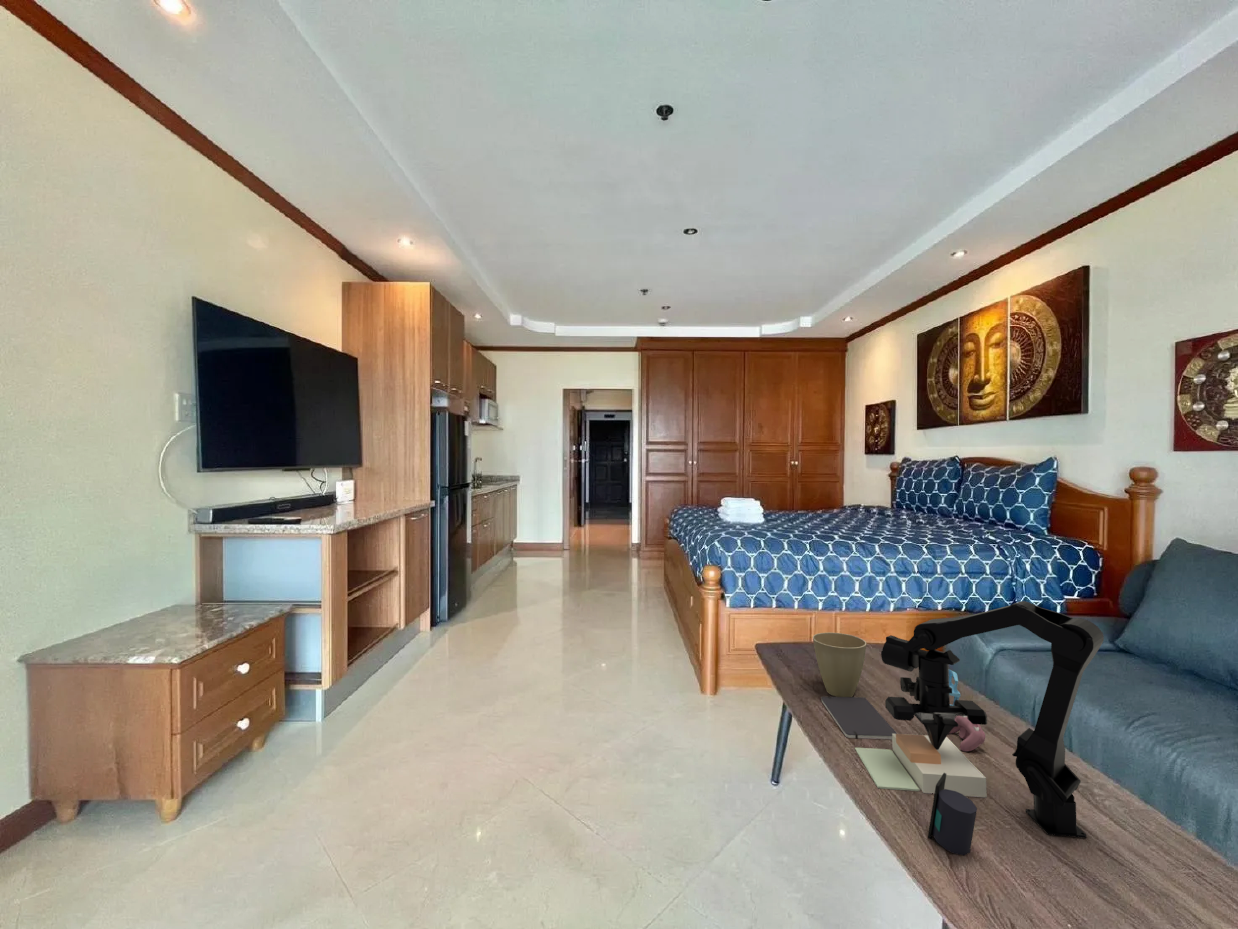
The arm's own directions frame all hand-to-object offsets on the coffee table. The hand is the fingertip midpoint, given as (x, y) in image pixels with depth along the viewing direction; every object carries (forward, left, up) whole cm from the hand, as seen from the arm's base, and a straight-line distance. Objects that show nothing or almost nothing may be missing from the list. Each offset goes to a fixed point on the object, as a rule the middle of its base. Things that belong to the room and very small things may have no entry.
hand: (935, 748), depth 111 cm
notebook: (+23, +10, -6) cm, 26 cm away
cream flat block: (0, 0, -5) cm, 5 cm away
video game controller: (+14, -13, -5) cm, 19 cm away
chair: (+29, -15, -5) cm, 33 cm away
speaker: (-22, +7, -5) cm, 24 cm away
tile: (0, +4, -1) cm, 4 cm away
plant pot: (+39, +9, -5) cm, 40 cm away
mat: (0, +11, -5) cm, 12 cm away
